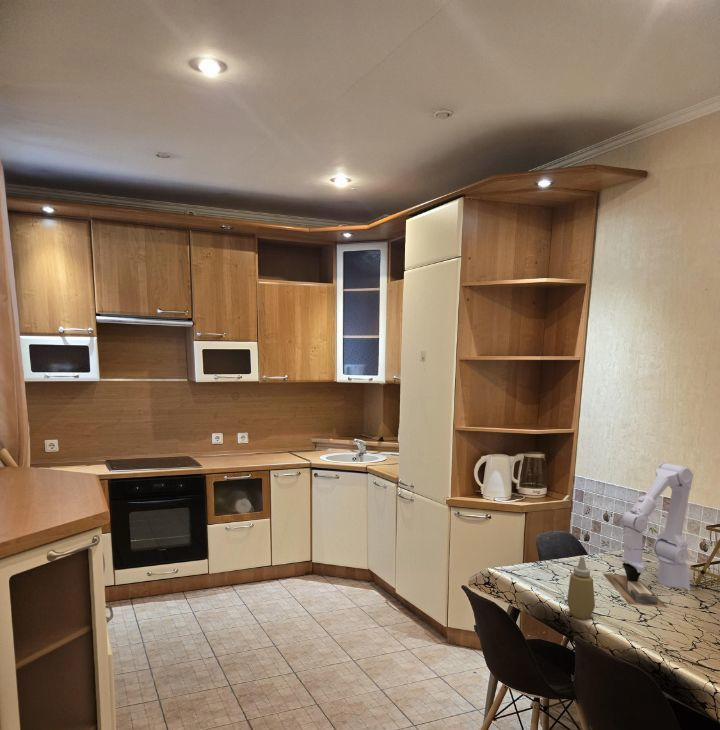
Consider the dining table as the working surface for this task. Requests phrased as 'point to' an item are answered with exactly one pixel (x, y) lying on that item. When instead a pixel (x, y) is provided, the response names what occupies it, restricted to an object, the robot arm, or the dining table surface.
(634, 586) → the cream rectangular block
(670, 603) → the dining table surface
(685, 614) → the dining table surface
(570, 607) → the squeeze bottle
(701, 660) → the dining table surface
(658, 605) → the board
